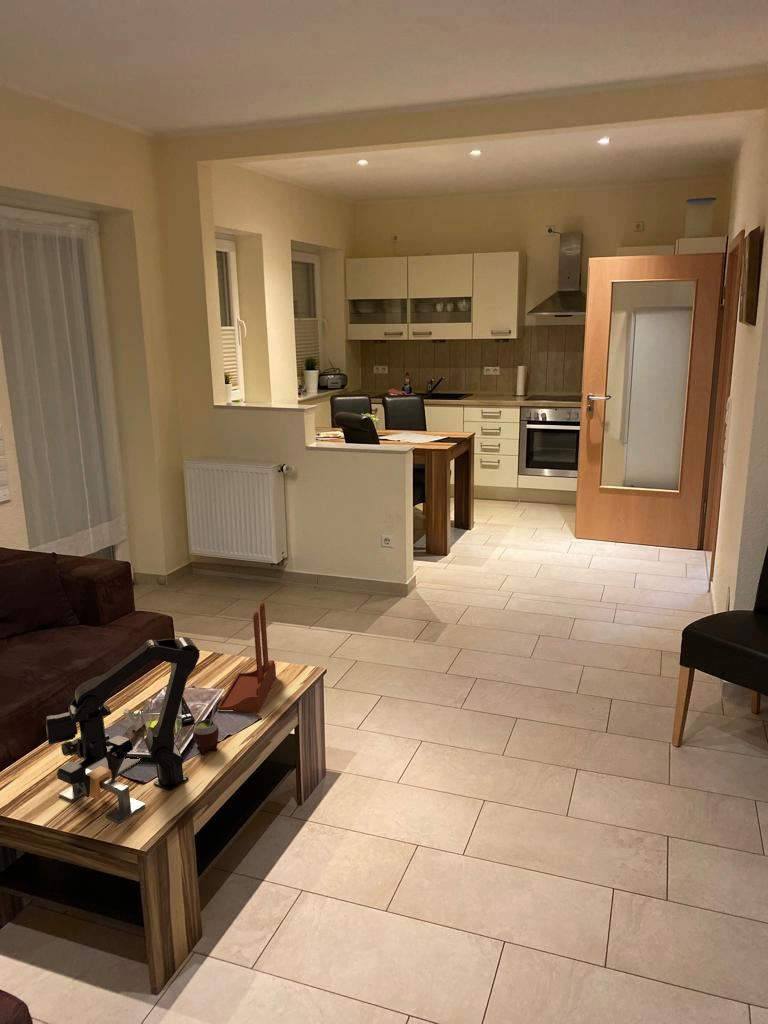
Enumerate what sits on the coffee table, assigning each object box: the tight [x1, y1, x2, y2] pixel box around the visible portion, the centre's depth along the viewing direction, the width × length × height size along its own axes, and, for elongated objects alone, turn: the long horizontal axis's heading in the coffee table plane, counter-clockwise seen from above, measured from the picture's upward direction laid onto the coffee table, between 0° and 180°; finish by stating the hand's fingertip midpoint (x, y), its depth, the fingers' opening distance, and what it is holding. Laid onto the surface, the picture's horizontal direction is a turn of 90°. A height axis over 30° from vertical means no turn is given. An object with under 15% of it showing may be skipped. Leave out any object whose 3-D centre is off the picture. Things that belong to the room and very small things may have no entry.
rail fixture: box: [58, 769, 146, 825], centre depth 195 cm, size 23×8×7 cm, turn 58°
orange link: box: [86, 766, 112, 801], centre depth 195 cm, size 4×5×6 cm
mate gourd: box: [192, 695, 224, 756], centre depth 217 cm, size 8×8×15 cm
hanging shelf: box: [216, 602, 277, 713], centre depth 248 cm, size 24×13×30 cm, turn 175°
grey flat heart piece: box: [122, 708, 141, 726], centre depth 230 cm, size 7×2×8 cm, turn 160°
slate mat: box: [75, 758, 141, 776], centre depth 212 cm, size 14×12×1 cm
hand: (100, 788), depth 195 cm, fingers open, 7 cm apart
